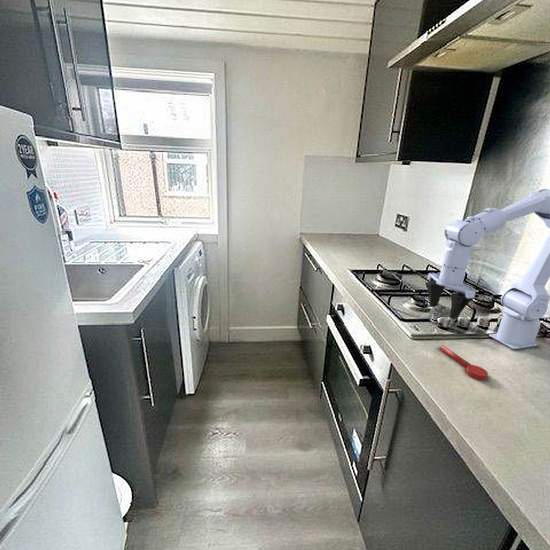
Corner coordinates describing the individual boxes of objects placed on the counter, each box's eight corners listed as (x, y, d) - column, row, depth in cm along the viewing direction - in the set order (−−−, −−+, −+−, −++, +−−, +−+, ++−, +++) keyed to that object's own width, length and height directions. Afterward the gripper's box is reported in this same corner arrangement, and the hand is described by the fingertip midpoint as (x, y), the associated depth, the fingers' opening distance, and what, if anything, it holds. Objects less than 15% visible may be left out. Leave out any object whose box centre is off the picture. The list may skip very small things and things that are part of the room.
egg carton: (449, 329, 97) (452, 317, 95) (425, 320, 102) (428, 309, 100) (459, 319, 104) (462, 308, 103) (436, 311, 109) (438, 301, 108)
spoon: (446, 347, 86) (447, 343, 86) (491, 378, 73) (492, 373, 73) (433, 349, 85) (434, 345, 84) (476, 381, 72) (478, 376, 72)
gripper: (422, 259, 87) (413, 302, 91) (464, 275, 73) (451, 325, 78) (443, 258, 88) (433, 300, 93) (487, 274, 75) (473, 322, 80)
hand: (443, 311), depth 85 cm, fingers open, 7 cm apart
